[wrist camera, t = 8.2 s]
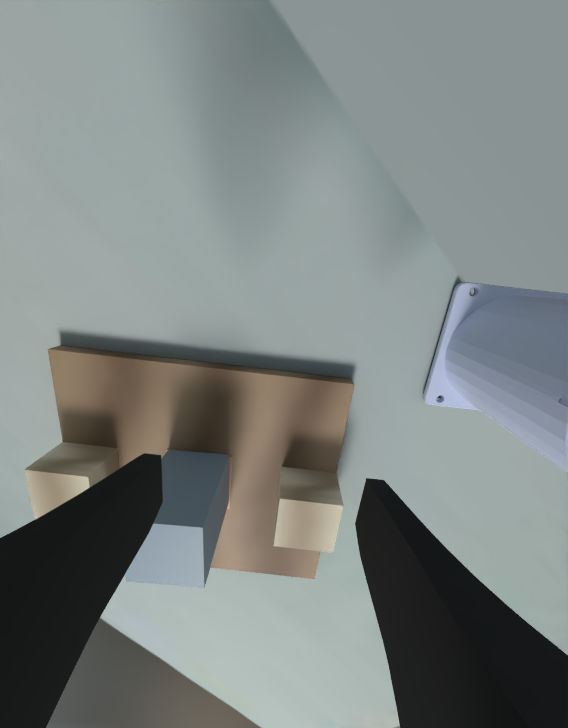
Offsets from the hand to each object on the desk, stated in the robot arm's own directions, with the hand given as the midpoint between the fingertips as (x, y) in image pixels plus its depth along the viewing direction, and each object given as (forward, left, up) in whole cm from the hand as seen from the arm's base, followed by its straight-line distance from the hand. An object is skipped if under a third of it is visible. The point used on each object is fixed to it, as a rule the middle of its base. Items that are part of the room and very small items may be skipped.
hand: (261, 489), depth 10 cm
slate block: (+5, +8, -9) cm, 13 cm away
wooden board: (+5, +8, -10) cm, 14 cm away
